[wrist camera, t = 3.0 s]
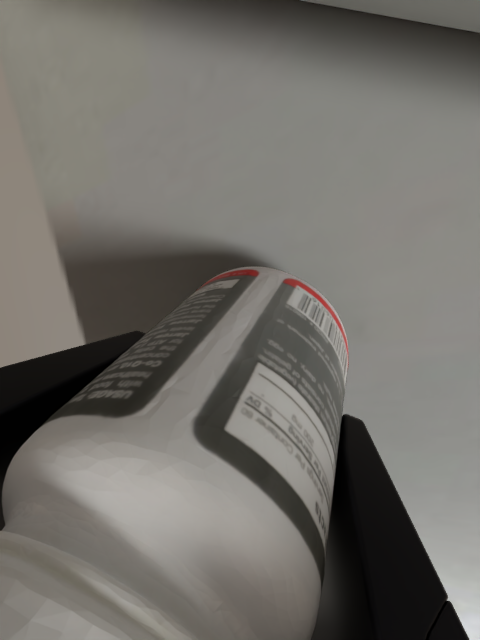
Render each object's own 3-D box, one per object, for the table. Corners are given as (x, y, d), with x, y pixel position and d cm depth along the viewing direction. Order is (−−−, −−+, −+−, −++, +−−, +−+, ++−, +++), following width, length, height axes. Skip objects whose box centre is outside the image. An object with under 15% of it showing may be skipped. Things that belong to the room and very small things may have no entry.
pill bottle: (187, 380, 12) (-96, 747, 5) (192, 245, 9) (-386, 591, 2) (327, 426, 10) (228, 1008, 3) (374, 286, 8) (356, 1258, 1)
